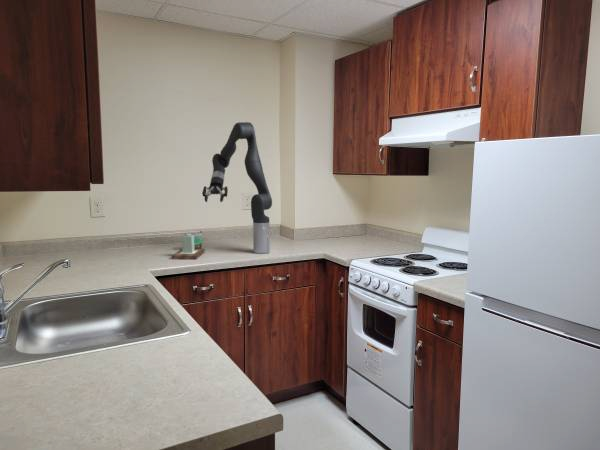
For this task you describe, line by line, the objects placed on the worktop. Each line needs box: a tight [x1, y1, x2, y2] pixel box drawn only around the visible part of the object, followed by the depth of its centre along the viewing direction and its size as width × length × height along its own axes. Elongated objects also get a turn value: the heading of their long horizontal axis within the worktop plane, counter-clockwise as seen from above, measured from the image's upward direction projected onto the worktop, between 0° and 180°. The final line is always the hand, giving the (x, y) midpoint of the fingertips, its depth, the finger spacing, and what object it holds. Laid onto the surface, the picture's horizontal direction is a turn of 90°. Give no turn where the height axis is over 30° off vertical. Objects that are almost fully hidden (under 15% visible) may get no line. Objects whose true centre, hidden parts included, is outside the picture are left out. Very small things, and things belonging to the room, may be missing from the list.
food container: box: [184, 230, 204, 249], centre depth 263 cm, size 12×6×10 cm, turn 143°
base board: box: [171, 248, 206, 260], centre depth 246 cm, size 13×18×2 cm
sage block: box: [181, 233, 195, 253], centre depth 245 cm, size 5×5×10 cm
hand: (213, 201), depth 258 cm, fingers open, 8 cm apart
